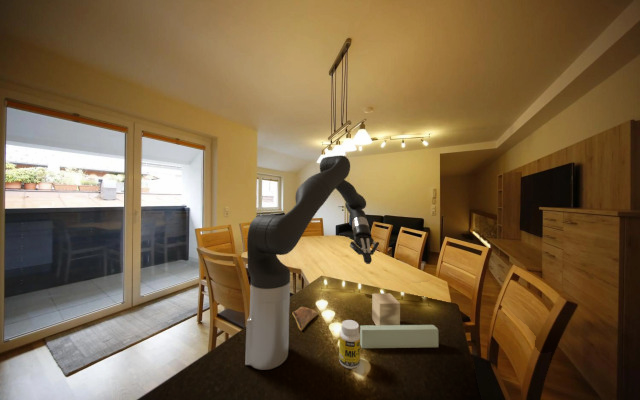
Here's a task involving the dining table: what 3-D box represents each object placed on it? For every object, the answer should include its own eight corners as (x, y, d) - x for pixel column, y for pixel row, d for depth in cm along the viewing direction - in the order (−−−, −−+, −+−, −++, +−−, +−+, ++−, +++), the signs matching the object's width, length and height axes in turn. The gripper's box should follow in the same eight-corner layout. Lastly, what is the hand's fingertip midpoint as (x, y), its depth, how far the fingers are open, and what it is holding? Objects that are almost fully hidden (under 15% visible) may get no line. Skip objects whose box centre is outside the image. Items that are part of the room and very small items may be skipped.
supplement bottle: (343, 371, 44) (344, 331, 44) (336, 356, 49) (336, 320, 49) (363, 367, 45) (364, 328, 46) (354, 352, 50) (354, 317, 50)
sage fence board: (361, 348, 52) (362, 330, 52) (359, 343, 54) (360, 325, 54) (438, 347, 53) (438, 329, 53) (433, 342, 55) (433, 324, 55)
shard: (300, 333, 58) (300, 327, 58) (279, 325, 61) (279, 319, 62) (318, 316, 67) (318, 310, 68) (299, 310, 71) (299, 305, 71)
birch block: (379, 331, 59) (379, 303, 59) (372, 318, 66) (372, 293, 66) (399, 331, 59) (399, 303, 60) (390, 318, 66) (390, 293, 67)
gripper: (348, 223, 91) (353, 257, 78) (377, 223, 92) (387, 258, 79) (345, 233, 96) (350, 267, 83) (373, 234, 97) (382, 267, 84)
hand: (368, 262), depth 81 cm, fingers closed
